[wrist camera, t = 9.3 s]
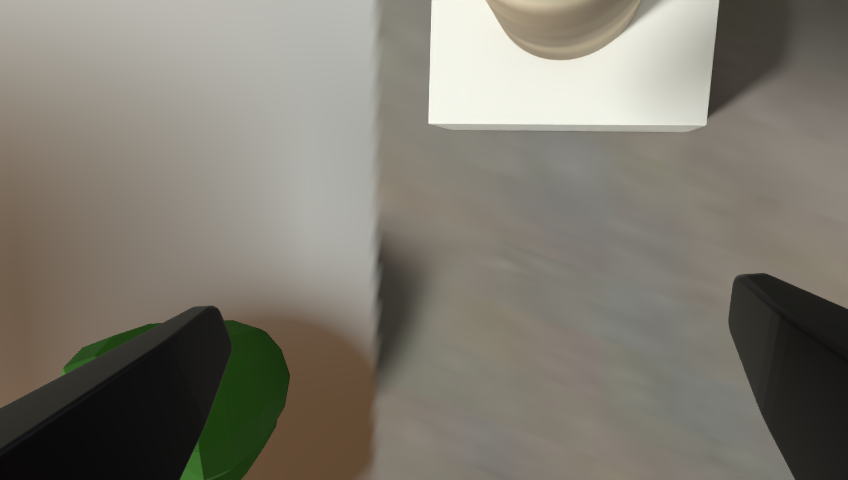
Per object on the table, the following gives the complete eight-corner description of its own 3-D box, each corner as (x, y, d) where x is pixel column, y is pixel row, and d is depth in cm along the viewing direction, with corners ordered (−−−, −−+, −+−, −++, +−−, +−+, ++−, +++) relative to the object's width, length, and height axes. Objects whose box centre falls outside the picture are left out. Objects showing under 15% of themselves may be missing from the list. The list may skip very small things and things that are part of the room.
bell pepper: (188, 446, 29) (-5, 583, 19) (167, 299, 28) (-47, 367, 19) (327, 457, 26) (182, 621, 17) (308, 295, 26) (144, 373, 16)
